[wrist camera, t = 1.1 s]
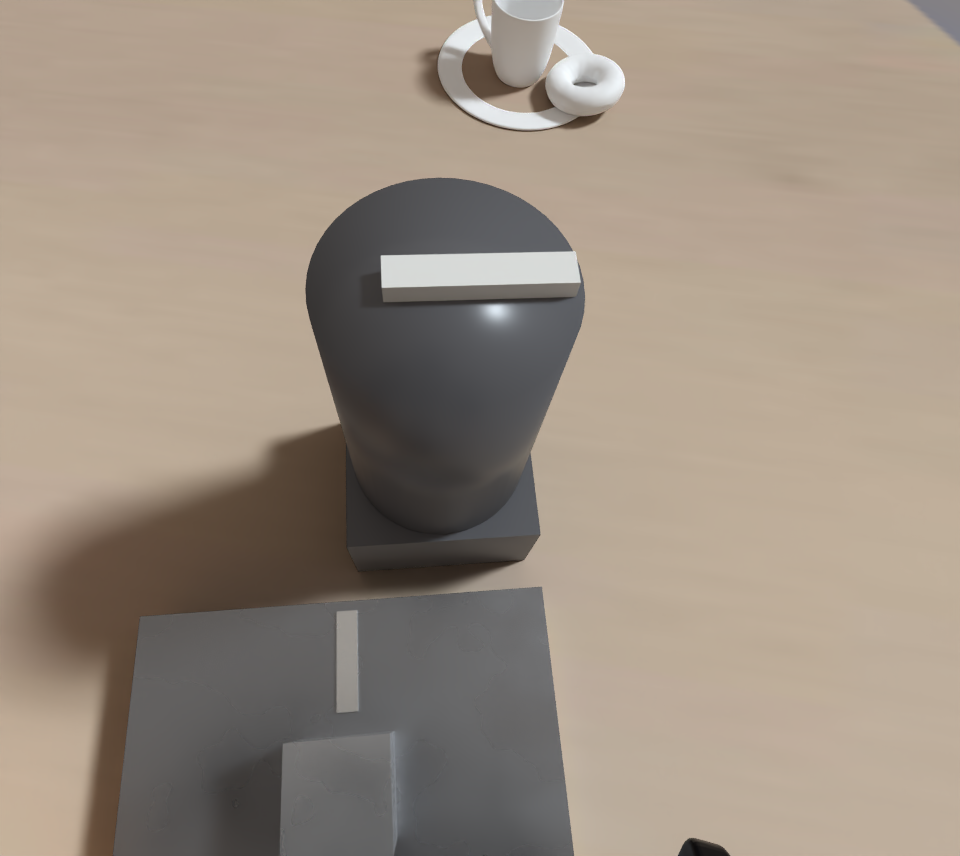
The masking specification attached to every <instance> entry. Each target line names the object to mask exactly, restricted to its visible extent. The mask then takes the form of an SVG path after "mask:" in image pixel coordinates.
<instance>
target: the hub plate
mask: <svg viewBox="0 0 960 856" xmlns="http://www.w3.org/2000/svg"><path fill="white" fill-rule="evenodd" d="M113 856H574V851H573V843H572V835H571V826H570V818H569V810H568V801H567V793H566V785H565V776H564V768H563V760H562V751H561V743H560V735H559V726H558V718H557V710H556V701H555V693H554V685H553V676H552V668H551V660H550V651H549V643H548V635H547V626H546V618H545V610H544V601H543V593H542V587H532V588H519V589H505V590H492V591H478V592H465V593H451V594H438V595H424V596H411V597H397V598H384V599H370V600H357V601H343V602H330V603H316V604H303V605H289V606H276V607H262V608H249V609H235V610H222V611H208V612H195V613H181V614H168V615H154V616H141V617H140V621H139V630H138V639H137V647H136V656H135V665H134V674H133V683H132V691H131V700H130V709H129V718H128V726H127V735H126V744H125V753H124V762H123V770H122V779H121V788H120V797H119V805H118V814H117V823H116V832H115V841H114V849H113Z"/></svg>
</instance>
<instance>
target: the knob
mask: <svg viewBox="0 0 960 856" xmlns="http://www.w3.org/2000/svg"><path fill="white" fill-rule="evenodd" d="M306 304H307V309H308V314H309V318H310V322H311V325H312V329H313V332H314V335H315V339H316V342H317V345H318V349H319V352H320V356H321V359H322V362H323V366H324V369H325V373H326V376H327V379H328V383H329V386H330V389H331V393H332V396H333V400H334V403H335V406H336V410H337V413H338V417H339V420H340V423H341V427H342V430H343V433H344V437H345V440H346V520H347V549H348V551H349V553H350V555H351V557H352V559H353V562H354V564H355V566H356V568H357V570H358V571H373V570H387V569H401V568H416V567H430V566H444V565H459V564H473V563H487V562H502V561H516V560H524V559H525V558H526V556H527V555H528V553H529V552H530V550H531V549H532V547H533V545H534V544H535V542H536V541H537V539H538V538H539V536H540V526H539V518H538V510H537V502H536V494H535V486H534V478H533V470H532V461H531V453H530V452H531V450H532V447H533V445H534V442H535V440H536V437H537V435H538V432H539V430H540V427H541V425H542V422H543V420H544V417H545V415H546V412H547V410H548V407H549V405H550V402H551V400H552V397H553V395H554V392H555V390H556V387H557V385H558V382H559V380H560V377H561V375H562V372H563V370H564V367H565V365H566V362H567V360H568V357H569V355H570V352H571V350H572V348H573V345H574V343H575V340H576V337H577V335H578V332H579V330H580V327H581V323H582V319H583V314H584V304H585V292H584V282H583V277H582V273H581V269H580V266H579V264H578V261H577V257H576V251H573V250H572V248H571V247H570V245H569V243H568V242H567V240H566V239H565V237H564V236H563V235H562V233H561V232H560V231H559V230H558V228H557V227H556V226H555V225H554V224H553V223H552V222H551V221H550V220H549V219H548V218H547V217H546V216H545V215H544V214H542V213H541V212H540V211H539V210H537V209H536V208H535V207H533V206H532V205H530V204H529V203H527V202H526V201H524V200H522V199H521V198H519V197H517V196H515V195H513V194H511V193H509V192H507V191H504V190H502V189H499V188H496V187H493V186H490V185H487V184H483V183H479V182H475V181H470V180H463V179H455V178H428V179H418V180H412V181H406V182H402V183H399V184H395V185H391V186H388V187H386V188H383V189H381V190H378V191H376V192H374V193H372V194H370V195H368V196H366V197H364V198H362V199H360V200H359V201H357V202H356V203H355V204H353V205H352V206H350V207H349V208H347V209H346V210H345V211H344V212H343V213H342V214H341V215H340V216H339V217H337V218H336V219H335V220H334V222H333V223H332V224H331V225H330V226H329V227H328V229H327V230H326V231H325V233H324V234H323V236H322V237H321V239H320V241H319V242H318V244H317V246H316V248H315V250H314V253H313V255H312V257H311V260H310V264H309V268H308V271H307V279H306Z"/></svg>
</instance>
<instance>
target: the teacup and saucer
mask: <svg viewBox="0 0 960 856" xmlns="http://www.w3.org/2000/svg"><path fill="white" fill-rule="evenodd" d="M473 1H474V8H475V13H476V17H477V19H476V20H473V21H471V22H469V23H467V24H465V25H463V26H462V27H460V28H459V29H457V30H456V31H455V32H453V33H452V34H451V35H450V36H449V37H448V39H447V40H446V41H445V43H444V44H443V46H442V48H441V51H440V53H439V57H438V74H439V78H440V81H441V84H442V86H443V88H444V89H445V91H446V93H447V94H448V95H449V97H450V98H451V99H452V100H453V101H454V102H455V103H456V104H457V105H458V106H459V107H460V108H462V109H463V110H464V111H466V112H467V113H469V114H470V115H472V116H474V117H475V118H477V119H479V120H482V121H484V122H486V123H489V124H492V125H495V126H499V127H503V128H507V129H514V130H543V129H549V128H553V127H557V126H560V125H563V124H566V123H568V122H570V121H572V120H574V119H576V118H577V117H579V116H591V115H596V114H600V113H602V112H605V111H606V110H608V109H610V108H611V107H612V106H614V105H615V104H616V103H617V101H618V100H619V99H620V97H621V95H622V93H623V90H624V87H625V78H624V75H623V72H622V70H621V68H620V67H619V66H618V65H617V64H616V63H615V62H613V61H612V60H610V59H608V58H607V57H604V56H601V55H597V54H593V53H592V52H591V50H590V49H589V48H588V46H587V45H586V44H585V43H584V42H583V41H582V40H581V39H580V38H578V37H577V36H576V35H575V34H573V33H572V32H570V31H569V30H567V29H565V28H564V27H562V26H560V25H559V21H560V17H561V13H562V9H563V4H564V0H492V16H487V17H485V14H484V10H483V5H482V0H473ZM484 37H485V39H486V41H487V43H488V44H489V46H490V48H491V50H492V59H493V65H494V68H495V71H496V74H497V76H498V78H499V79H500V80H501V81H502V82H504V83H505V84H507V85H509V86H512V87H519V88H521V87H528V86H531V85H532V84H534V83H535V82H536V81H537V80H538V79H539V78H540V76H541V75H542V73H543V72H544V70H545V68H546V65H547V63H548V60H549V57H550V54H551V51H552V48H553V44H556V45H557V46H559V47H560V48H561V49H562V50H563V51H564V52H565V53H566V54H567V55H568V56H569V57H567V58H564V59H562V60H561V61H559V62H558V63H557V64H555V65H554V66H553V67H552V69H551V70H550V72H549V73H548V75H547V78H546V83H545V87H546V91H547V95H548V97H549V99H550V101H551V102H552V104H553V105H554V106H555V107H553V108H551V109H548V110H545V111H541V112H534V113H517V112H511V111H506V110H502V109H499V108H496V107H494V106H492V105H490V104H488V103H486V102H484V101H483V100H481V99H480V98H479V97H477V96H476V95H475V94H474V93H473V92H472V91H471V90H470V88H469V87H468V86H467V84H466V82H465V80H464V78H463V74H462V61H463V58H464V55H465V53H466V52H467V50H468V49H469V48H470V47H471V46H472V45H473V44H474V43H475V42H477V41H478V40H480V39H482V38H484ZM573 84H575V85H573Z"/></svg>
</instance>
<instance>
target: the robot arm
mask: <svg viewBox="0 0 960 856" xmlns="http://www.w3.org/2000/svg"><path fill="white" fill-rule="evenodd" d="M678 856H730V855H729V853H728V852H727V851H726V850H725V849H724V848H723V847H722V846H720V845H717V844H714V843H710V842H707V841H703V840H699V839H696V838H689V839H688V840H686V841H685V843H684V844H683V846H682V848H681V850H680V852H679V854H678Z"/></svg>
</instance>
